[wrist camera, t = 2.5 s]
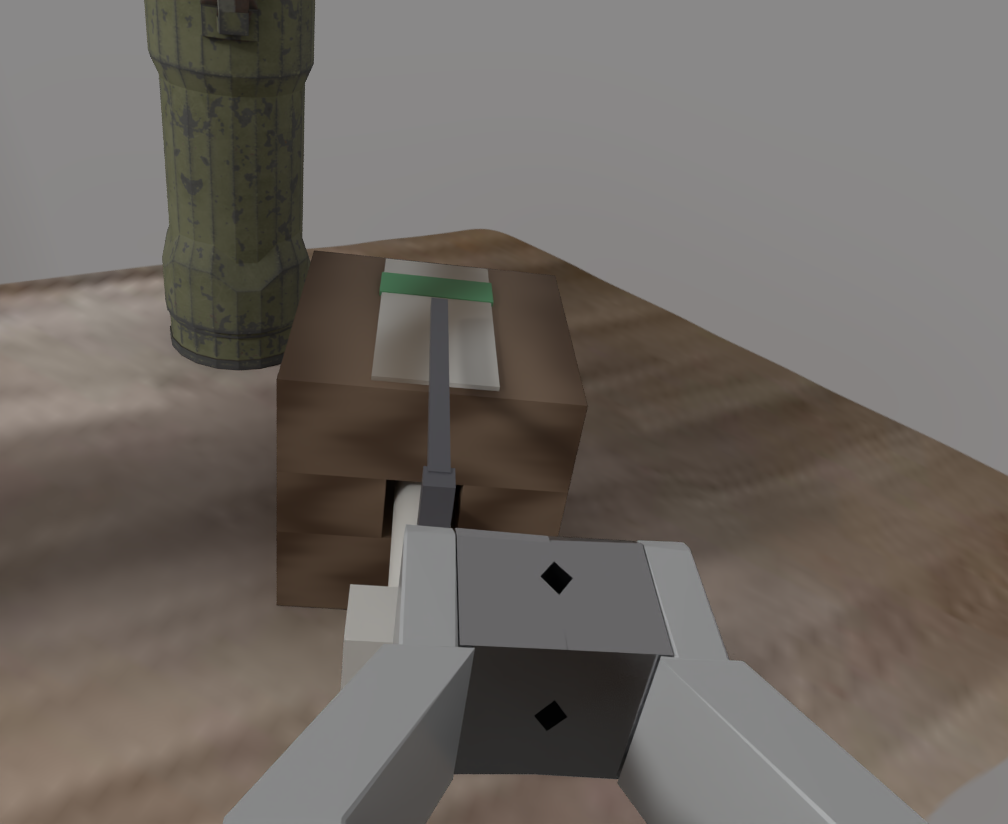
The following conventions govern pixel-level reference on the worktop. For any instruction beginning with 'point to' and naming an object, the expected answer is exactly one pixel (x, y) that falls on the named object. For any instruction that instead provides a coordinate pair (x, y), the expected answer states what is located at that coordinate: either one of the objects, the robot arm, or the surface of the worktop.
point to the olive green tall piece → (233, 172)
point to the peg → (408, 511)
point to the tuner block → (416, 412)
